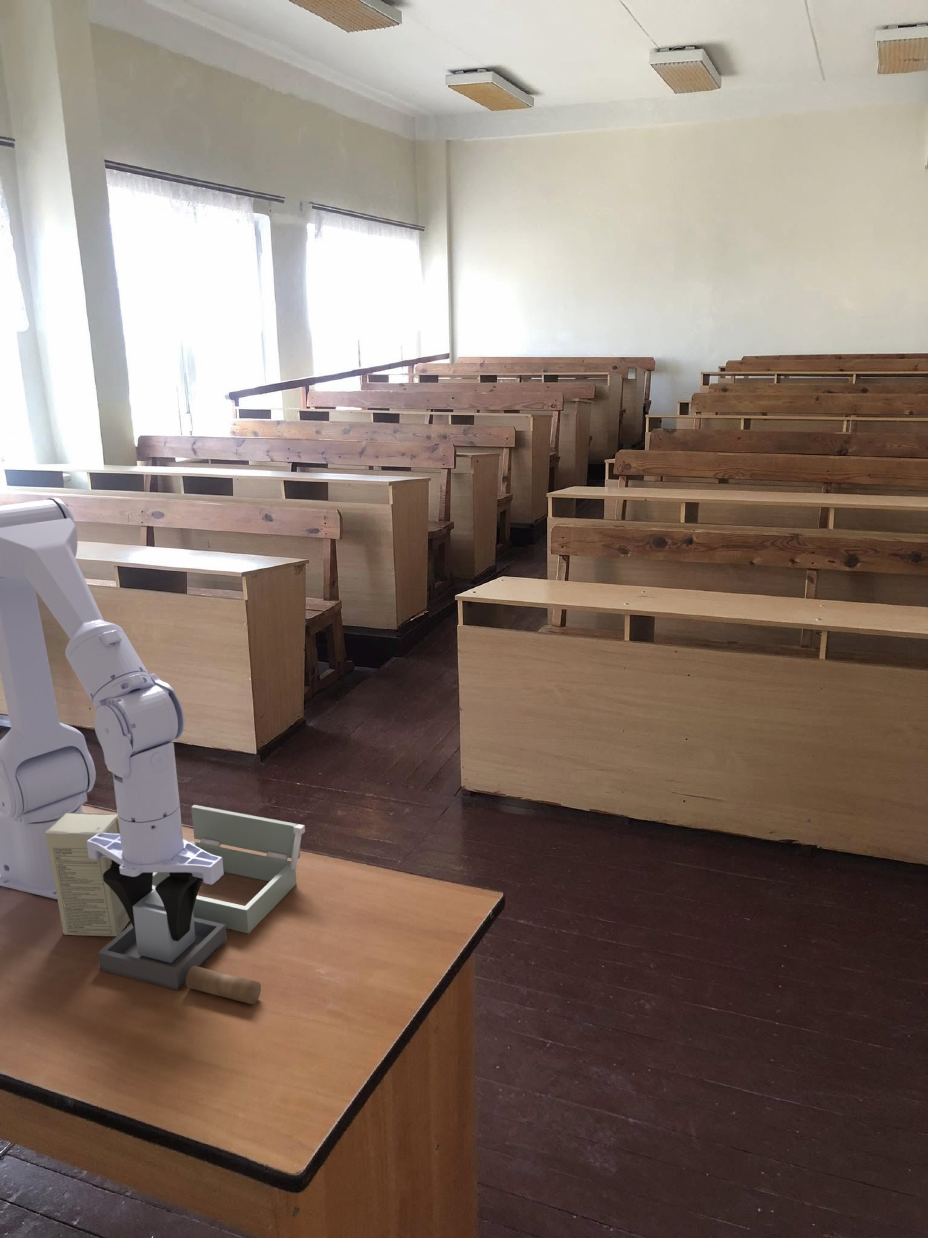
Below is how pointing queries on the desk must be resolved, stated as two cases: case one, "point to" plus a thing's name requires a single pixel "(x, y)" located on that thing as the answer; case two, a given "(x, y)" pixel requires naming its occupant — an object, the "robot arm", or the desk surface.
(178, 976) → the socket
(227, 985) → the rod
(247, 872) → the equipment case
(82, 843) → the skincare box
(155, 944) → the block
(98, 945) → the desk surface
